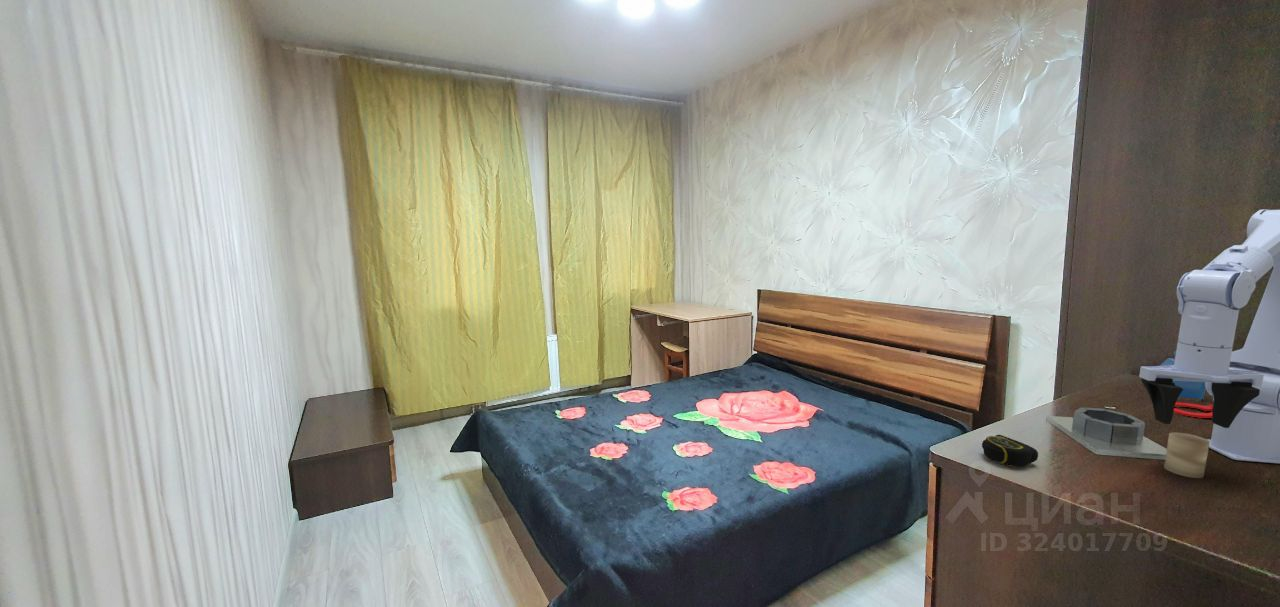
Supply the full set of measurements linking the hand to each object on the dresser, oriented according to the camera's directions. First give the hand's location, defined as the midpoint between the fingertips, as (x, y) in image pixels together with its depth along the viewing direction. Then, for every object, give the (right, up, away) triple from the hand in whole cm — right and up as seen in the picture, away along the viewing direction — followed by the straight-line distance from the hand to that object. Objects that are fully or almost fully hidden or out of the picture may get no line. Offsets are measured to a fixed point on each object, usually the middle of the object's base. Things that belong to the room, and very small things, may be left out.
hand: (1191, 423), depth 78 cm
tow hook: (+30, -4, +25) cm, 40 cm away
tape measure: (-26, -9, +7) cm, 28 cm away
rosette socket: (-1, -7, +14) cm, 15 cm away
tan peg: (0, -8, +1) cm, 9 cm away
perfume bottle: (+38, -3, +35) cm, 52 cm away
